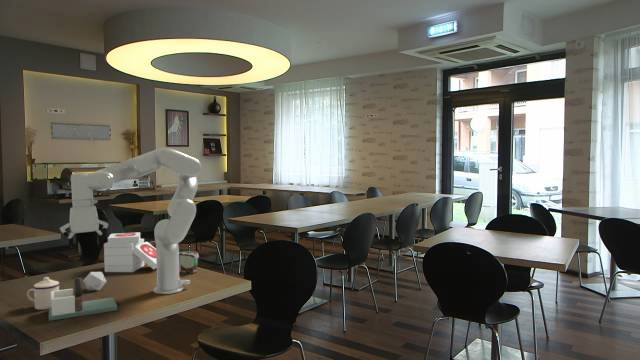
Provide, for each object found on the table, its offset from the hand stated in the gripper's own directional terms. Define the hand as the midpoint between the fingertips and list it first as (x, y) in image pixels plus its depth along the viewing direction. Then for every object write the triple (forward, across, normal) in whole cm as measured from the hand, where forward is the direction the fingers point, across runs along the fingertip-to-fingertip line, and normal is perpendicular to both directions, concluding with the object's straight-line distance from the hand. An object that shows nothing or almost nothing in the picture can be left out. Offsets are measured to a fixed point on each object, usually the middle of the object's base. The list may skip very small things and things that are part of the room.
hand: (85, 246), depth 186 cm
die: (+24, -5, -23) cm, 34 cm away
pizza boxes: (+25, -28, -55) cm, 67 cm away
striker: (+22, +4, +6) cm, 23 cm away
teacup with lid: (+24, +16, -8) cm, 29 cm away
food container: (+26, -51, -32) cm, 65 cm away
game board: (+24, +3, +6) cm, 25 cm away
